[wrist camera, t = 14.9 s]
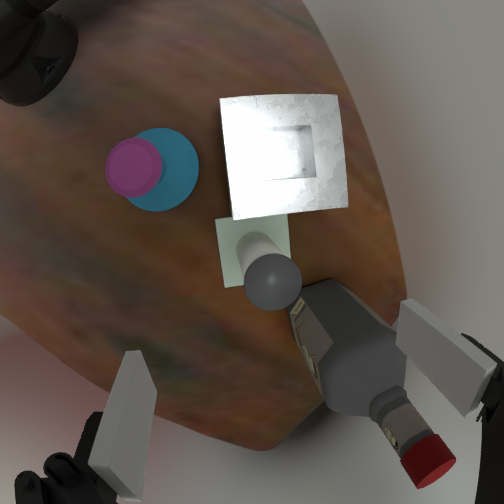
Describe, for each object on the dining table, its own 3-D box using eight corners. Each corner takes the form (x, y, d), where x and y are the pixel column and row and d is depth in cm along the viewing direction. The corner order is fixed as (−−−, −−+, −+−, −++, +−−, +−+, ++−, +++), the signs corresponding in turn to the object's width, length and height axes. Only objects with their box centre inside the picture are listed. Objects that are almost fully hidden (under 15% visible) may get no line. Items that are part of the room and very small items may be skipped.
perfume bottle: (205, 136, 33) (199, 109, 19) (196, 209, 35) (184, 234, 21) (133, 132, 32) (85, 108, 17) (125, 203, 34) (73, 224, 20)
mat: (215, 218, 36) (214, 219, 35) (285, 209, 37) (286, 210, 36) (224, 285, 38) (224, 287, 38) (290, 275, 39) (291, 277, 39)
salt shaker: (232, 232, 36) (241, 260, 25) (273, 227, 37) (300, 252, 25) (237, 271, 38) (247, 314, 26) (276, 266, 38) (303, 305, 27)
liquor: (342, 272, 40) (498, 409, 12) (348, 324, 43) (465, 467, 14) (281, 291, 40) (389, 481, 11) (294, 343, 42) (377, 518, 14)
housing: (218, 110, 33) (219, 98, 27) (319, 105, 34) (336, 94, 28) (230, 212, 36) (233, 220, 30) (328, 201, 37) (348, 206, 32)
